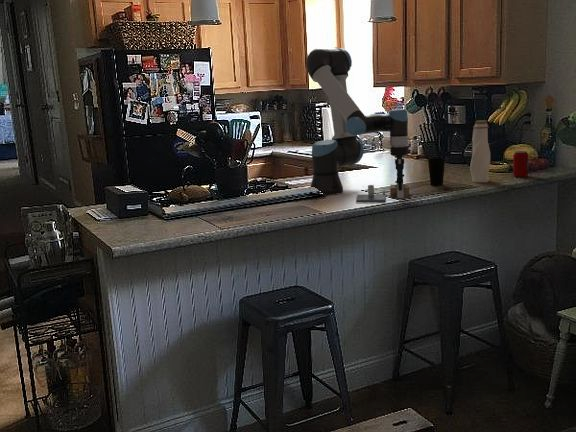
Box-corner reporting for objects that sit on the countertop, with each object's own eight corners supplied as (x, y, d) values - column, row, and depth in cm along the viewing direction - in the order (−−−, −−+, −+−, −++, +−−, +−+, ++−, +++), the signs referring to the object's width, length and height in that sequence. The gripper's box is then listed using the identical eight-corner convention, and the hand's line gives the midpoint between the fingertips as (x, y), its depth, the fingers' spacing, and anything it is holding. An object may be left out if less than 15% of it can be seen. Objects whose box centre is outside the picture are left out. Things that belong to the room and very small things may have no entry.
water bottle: (464, 180, 302) (465, 121, 296) (480, 178, 305) (481, 119, 299) (478, 183, 293) (478, 122, 287) (494, 181, 296) (495, 120, 290)
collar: (390, 197, 273) (390, 187, 272) (390, 193, 281) (390, 184, 280) (409, 196, 272) (409, 187, 271) (409, 193, 280) (408, 184, 279)
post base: (356, 202, 265) (355, 188, 264) (357, 197, 277) (357, 183, 275) (385, 202, 263) (385, 187, 262) (385, 196, 274) (385, 182, 273)
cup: (445, 185, 291) (445, 159, 288) (428, 186, 293) (428, 160, 290) (444, 183, 298) (444, 157, 296) (428, 183, 300) (427, 158, 297)
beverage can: (531, 176, 302) (531, 151, 300) (519, 178, 300) (520, 152, 297) (521, 174, 308) (521, 150, 306) (509, 176, 306) (510, 151, 303)
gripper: (408, 149, 259) (409, 200, 263) (407, 142, 283) (408, 189, 287) (390, 149, 260) (391, 200, 265) (390, 143, 284) (391, 189, 289)
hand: (400, 194), depth 276 cm, fingers open, 13 cm apart
